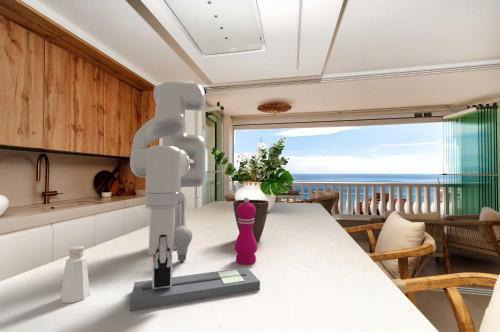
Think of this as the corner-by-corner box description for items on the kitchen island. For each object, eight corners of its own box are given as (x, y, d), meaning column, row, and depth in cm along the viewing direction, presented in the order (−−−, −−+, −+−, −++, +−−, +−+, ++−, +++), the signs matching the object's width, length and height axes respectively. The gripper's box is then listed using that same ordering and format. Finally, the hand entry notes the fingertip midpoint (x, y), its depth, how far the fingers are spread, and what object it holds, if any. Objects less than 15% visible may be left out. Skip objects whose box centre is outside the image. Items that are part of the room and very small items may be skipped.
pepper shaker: (56, 305, 51) (57, 252, 51) (64, 294, 56) (65, 245, 56) (87, 300, 53) (88, 249, 54) (91, 289, 58) (93, 242, 59)
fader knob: (152, 281, 57) (153, 252, 57) (170, 279, 58) (171, 250, 58) (152, 289, 53) (152, 257, 53) (171, 286, 55) (172, 255, 55)
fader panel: (134, 290, 58) (134, 281, 58) (247, 274, 67) (247, 266, 67) (129, 311, 49) (130, 299, 49) (259, 289, 59) (259, 280, 59)
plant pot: (227, 237, 106) (228, 200, 107) (258, 233, 113) (258, 198, 113) (241, 246, 93) (241, 204, 93) (275, 242, 99) (275, 202, 100)
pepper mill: (255, 266, 73) (255, 199, 74) (231, 264, 75) (232, 198, 76) (259, 258, 81) (259, 196, 81) (237, 256, 82) (238, 196, 83)
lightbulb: (195, 259, 79) (196, 225, 79) (184, 266, 73) (185, 229, 73) (179, 257, 81) (179, 223, 81) (167, 263, 75) (168, 227, 75)
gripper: (147, 197, 63) (146, 266, 63) (142, 205, 47) (141, 299, 46) (177, 196, 66) (176, 262, 65) (183, 204, 49) (182, 292, 49)
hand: (162, 277), depth 56 cm, fingers open, 8 cm apart
